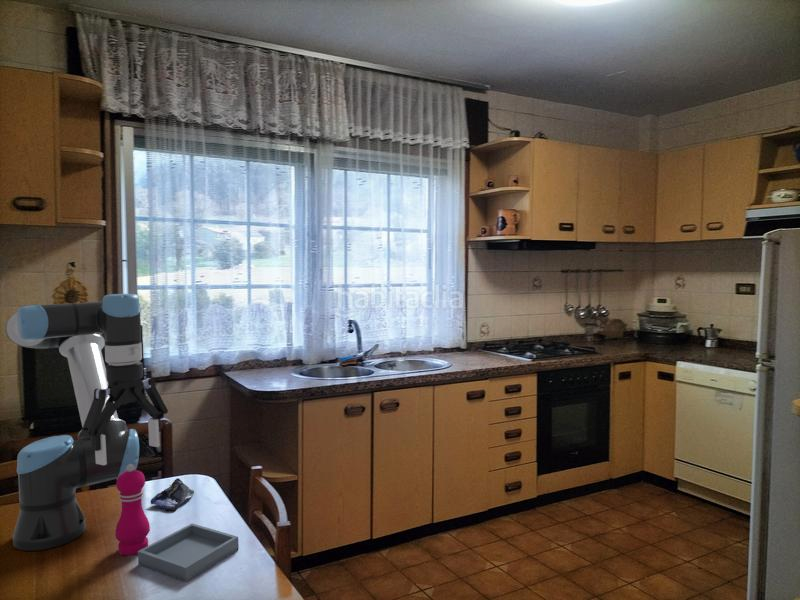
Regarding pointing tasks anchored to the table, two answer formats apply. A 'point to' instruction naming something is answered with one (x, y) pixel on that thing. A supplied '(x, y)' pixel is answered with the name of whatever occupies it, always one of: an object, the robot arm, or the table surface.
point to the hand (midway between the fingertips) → (129, 454)
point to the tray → (188, 551)
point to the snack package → (172, 496)
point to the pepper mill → (131, 513)
